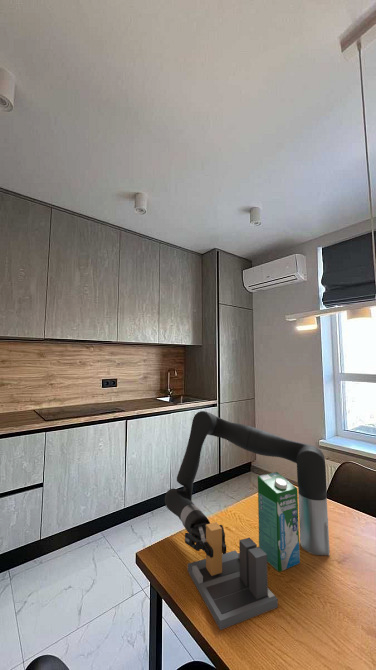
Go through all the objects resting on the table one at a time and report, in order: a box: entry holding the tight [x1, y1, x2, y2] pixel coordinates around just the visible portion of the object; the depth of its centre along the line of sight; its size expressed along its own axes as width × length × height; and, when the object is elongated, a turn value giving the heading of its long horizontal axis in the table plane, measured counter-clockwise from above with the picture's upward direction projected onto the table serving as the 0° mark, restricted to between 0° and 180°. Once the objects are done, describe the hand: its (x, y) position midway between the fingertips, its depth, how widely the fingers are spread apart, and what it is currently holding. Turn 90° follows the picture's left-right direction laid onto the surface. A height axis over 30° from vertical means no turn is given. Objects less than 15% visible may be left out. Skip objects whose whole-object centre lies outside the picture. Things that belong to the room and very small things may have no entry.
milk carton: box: [257, 471, 301, 573], centre depth 91 cm, size 9×9×25 cm
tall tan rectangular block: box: [205, 521, 223, 576], centre depth 82 cm, size 4×4×12 cm
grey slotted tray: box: [187, 537, 279, 631], centre depth 79 cm, size 17×20×12 cm
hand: (218, 552), depth 79 cm, fingers closed on tall tan rectangular block, 3 cm apart
